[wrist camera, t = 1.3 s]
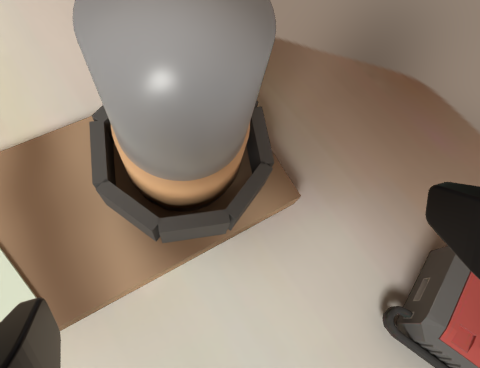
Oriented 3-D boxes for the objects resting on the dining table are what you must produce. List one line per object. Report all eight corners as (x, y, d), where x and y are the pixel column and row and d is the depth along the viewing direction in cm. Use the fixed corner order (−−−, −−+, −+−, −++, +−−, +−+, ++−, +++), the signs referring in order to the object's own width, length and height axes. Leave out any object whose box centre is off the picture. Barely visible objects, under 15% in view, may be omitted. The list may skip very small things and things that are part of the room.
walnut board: (216, 80, 25) (218, 66, 24) (293, 203, 23) (300, 196, 21) (-223, 256, 18) (-256, 251, 17) (-178, 460, 16) (-213, 473, 14)
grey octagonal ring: (247, 263, 20) (255, 256, 17) (69, 220, 19) (52, 207, 17) (278, 113, 23) (288, 90, 21) (128, 73, 23) (121, 45, 20)
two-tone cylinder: (224, 226, 20) (259, 130, 10) (111, 198, 20) (29, 71, 10) (247, 129, 23) (295, -30, 12) (147, 103, 22) (110, -82, 12)
